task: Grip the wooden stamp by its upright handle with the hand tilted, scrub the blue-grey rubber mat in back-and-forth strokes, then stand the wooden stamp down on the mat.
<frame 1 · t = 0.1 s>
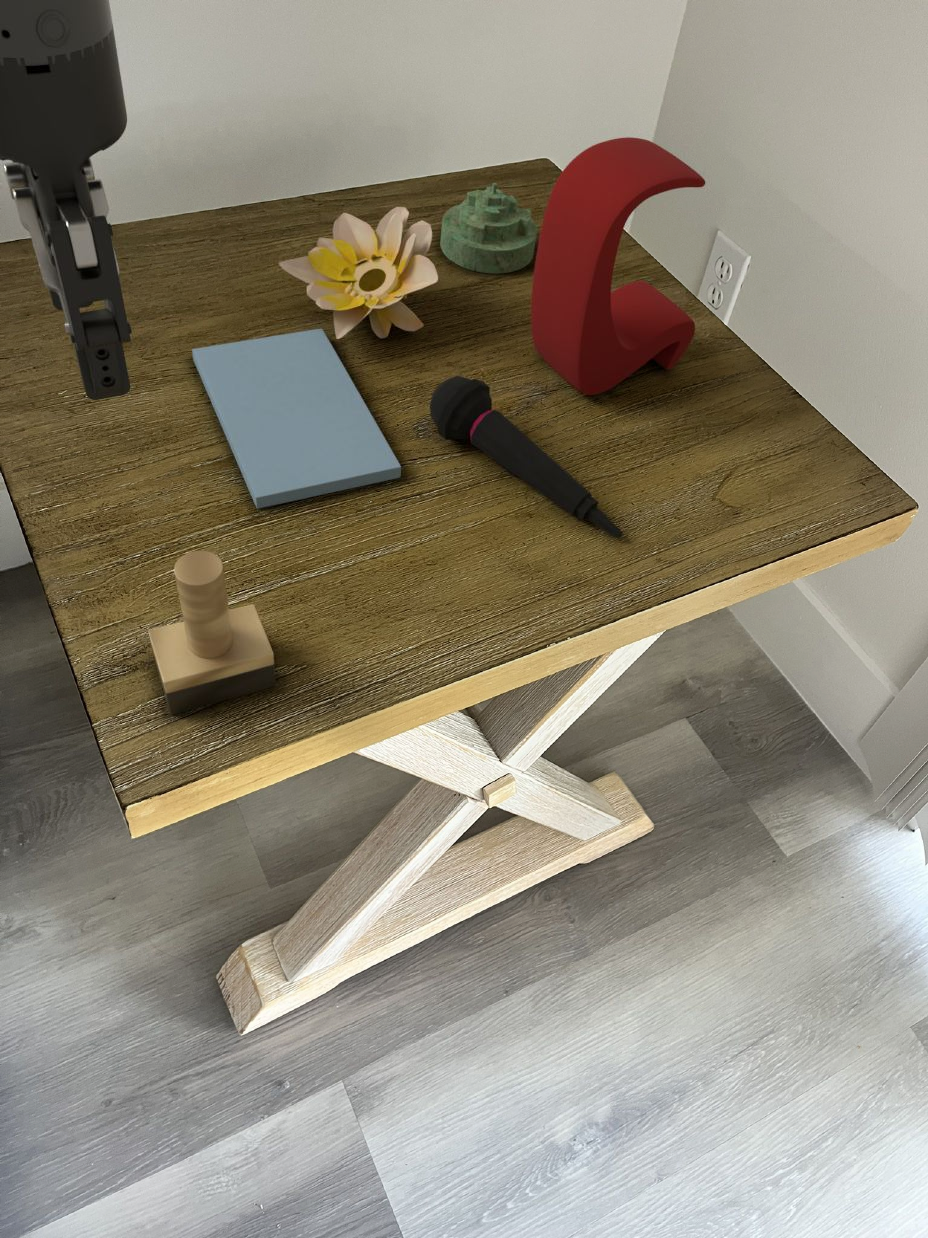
hand: (90, 347, 53), 21 cm above the table, tool pointing down, fingers open, 8 cm apart
decorative artifact: (486, 249, 105), on the table
red curved piece: (601, 366, 93), on the table
wooden stamp: (215, 675, 66), on the table
mat: (292, 416, 84), on the table
microphone: (514, 480, 81), on the table
decorative flower: (358, 309, 95), on the table
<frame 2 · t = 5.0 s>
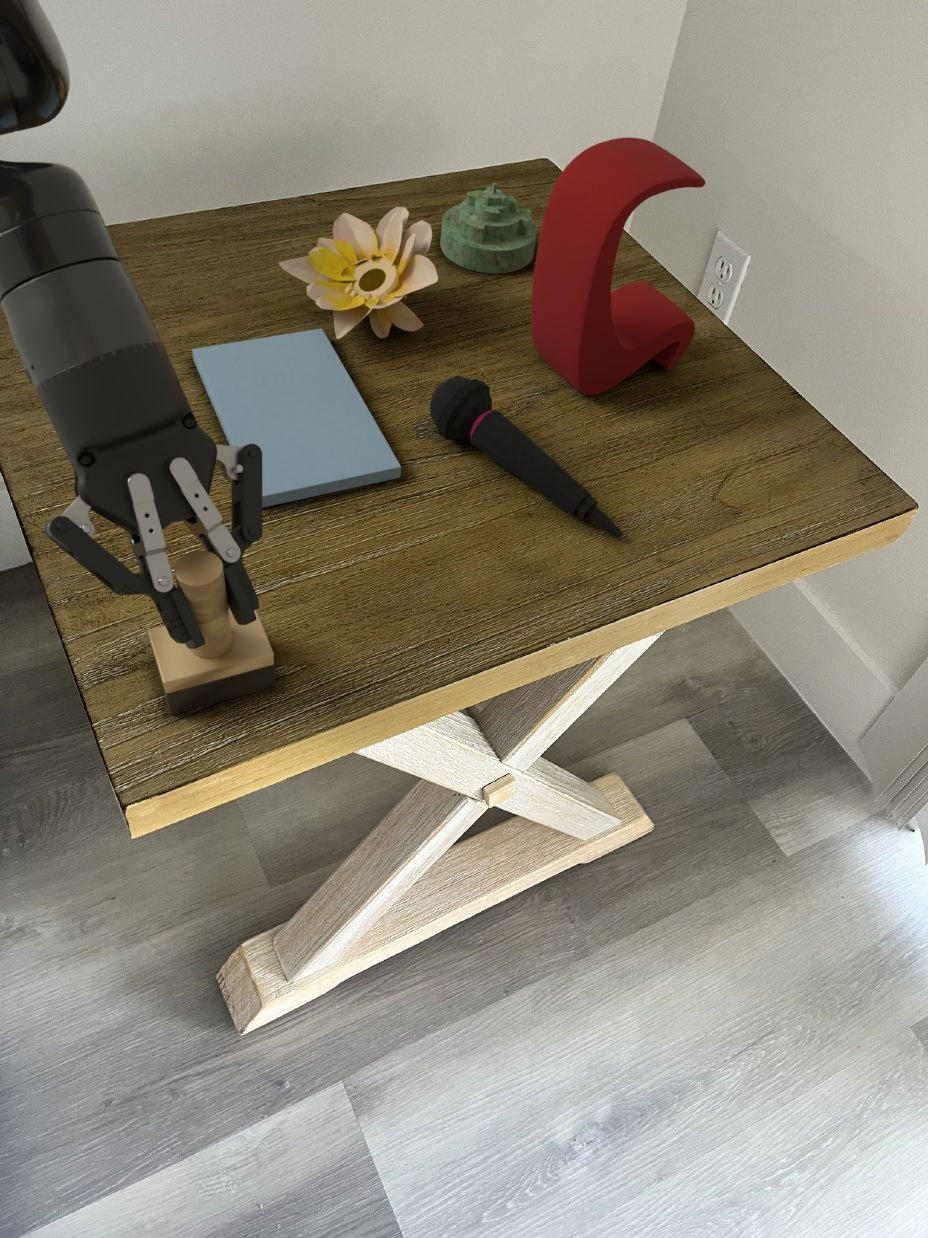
hand: (222, 632, 60), 7 cm above the table, tool tilted 45°, fingers closed on wooden stamp, 3 cm apart
wooden stamp: (215, 675, 66), on the table, touching gripper
everything else where it was.
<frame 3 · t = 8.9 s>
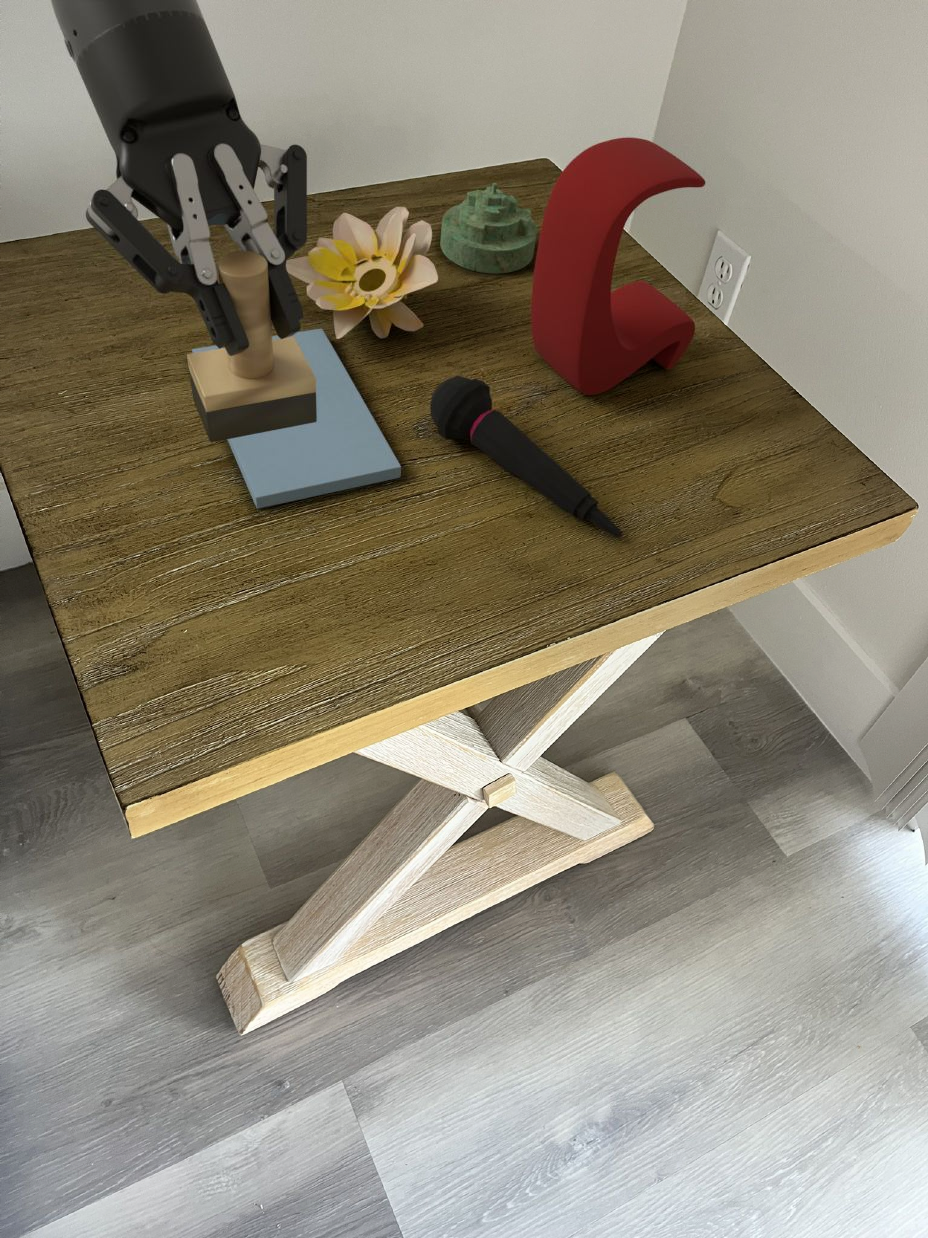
hand: (265, 341, 58), 19 cm above the table, tool tilted 45°, fingers closed on wooden stamp, 3 cm apart
wooden stamp: (255, 411, 64), point 13 cm above the table, touching gripper
everything else where it was.
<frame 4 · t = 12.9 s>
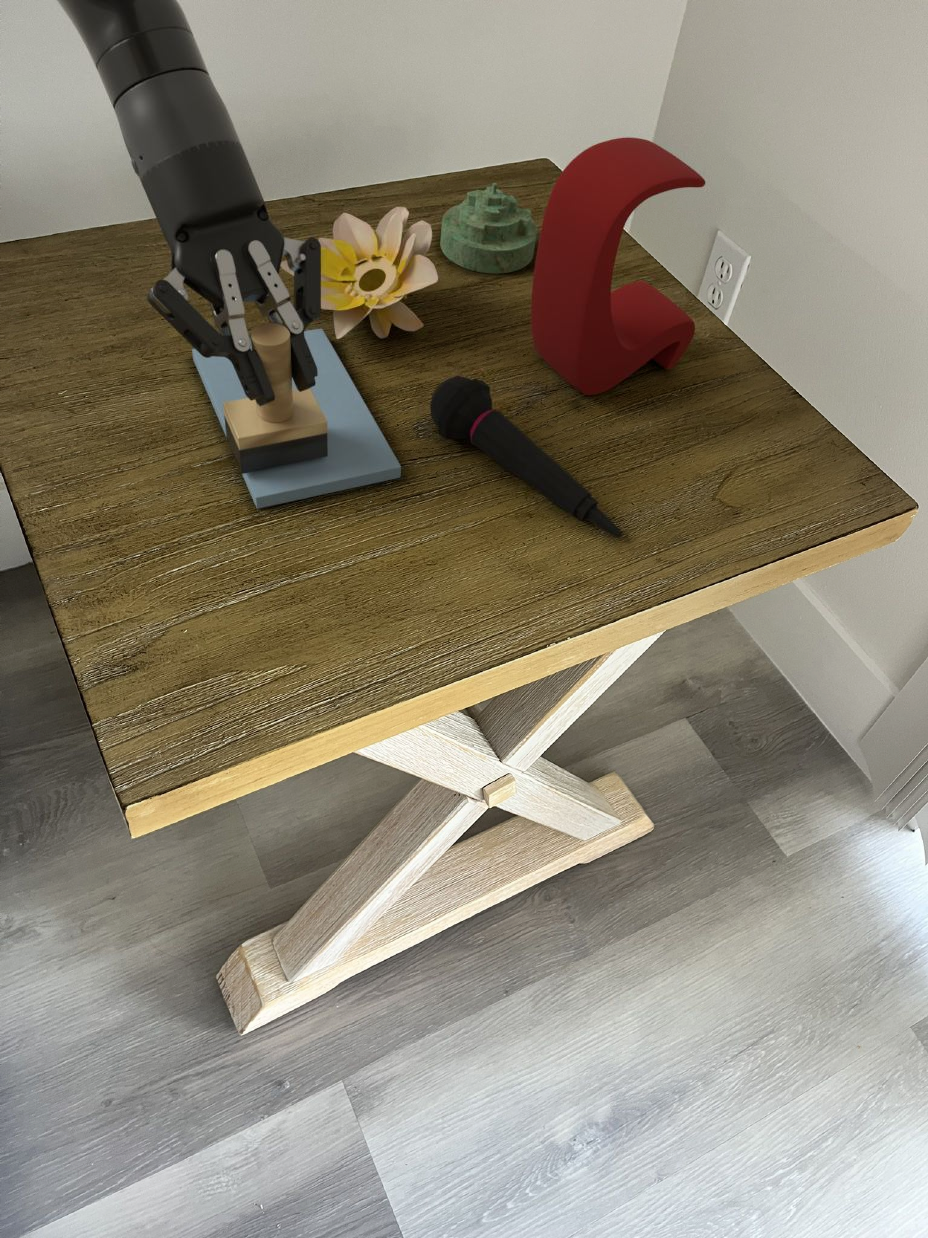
hand: (287, 394, 73), 8 cm above the table, tool tilted 45°, fingers closed on wooden stamp, 3 cm apart
wooden stamp: (277, 447, 78), point 2 cm above the table, touching gripper
everything else where it was.
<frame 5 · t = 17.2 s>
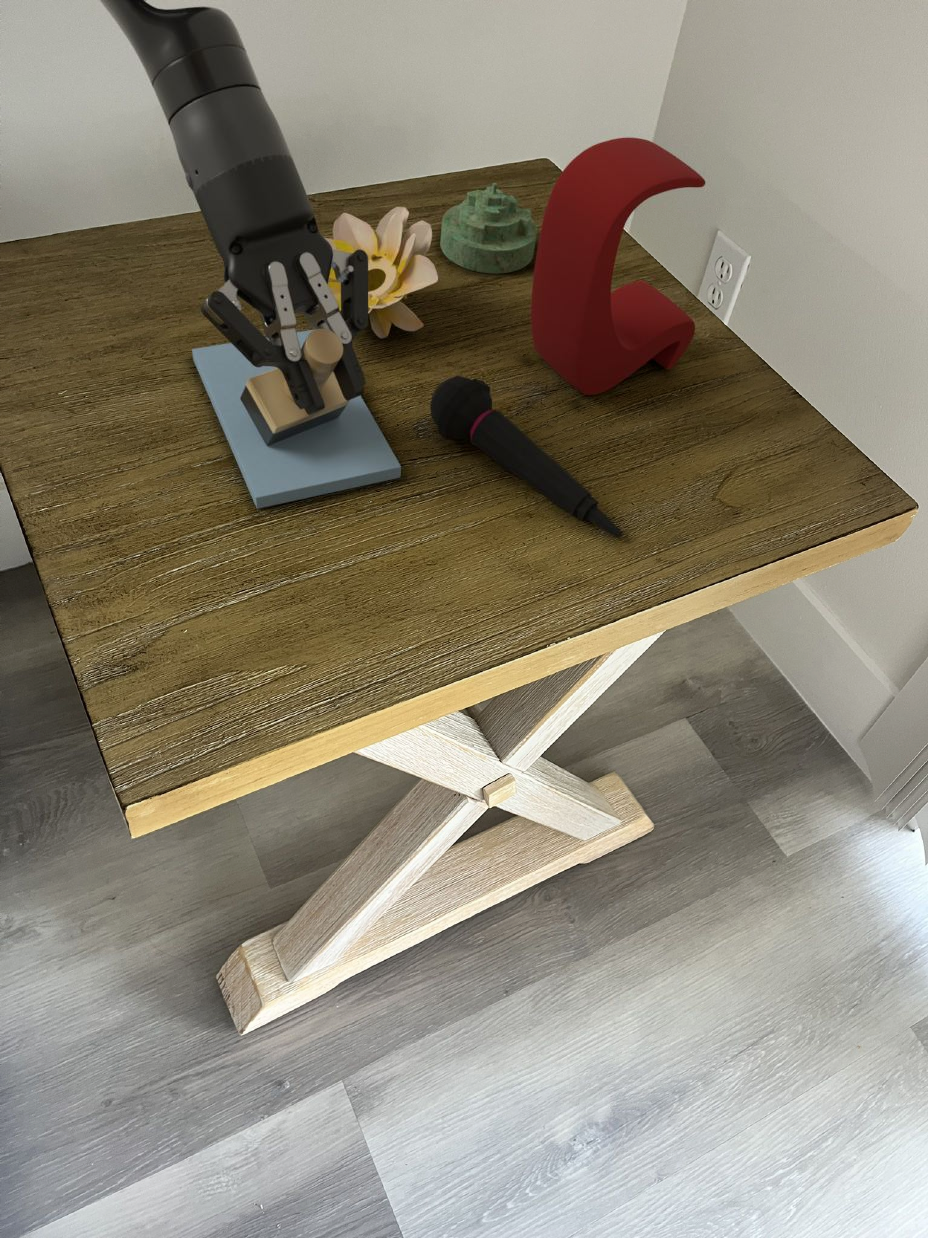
hand: (336, 403, 74), 7 cm above the table, tool tilted 45°, fingers closed on wooden stamp, 3 cm apart
wooden stamp: (290, 408, 81), point 2 cm above the table, tilted 30°, touching gripper
everything else where it was.
when the fingers open (7 cm above the table, at t = 21.0 s): wooden stamp drops 1 cm, resting on mat.
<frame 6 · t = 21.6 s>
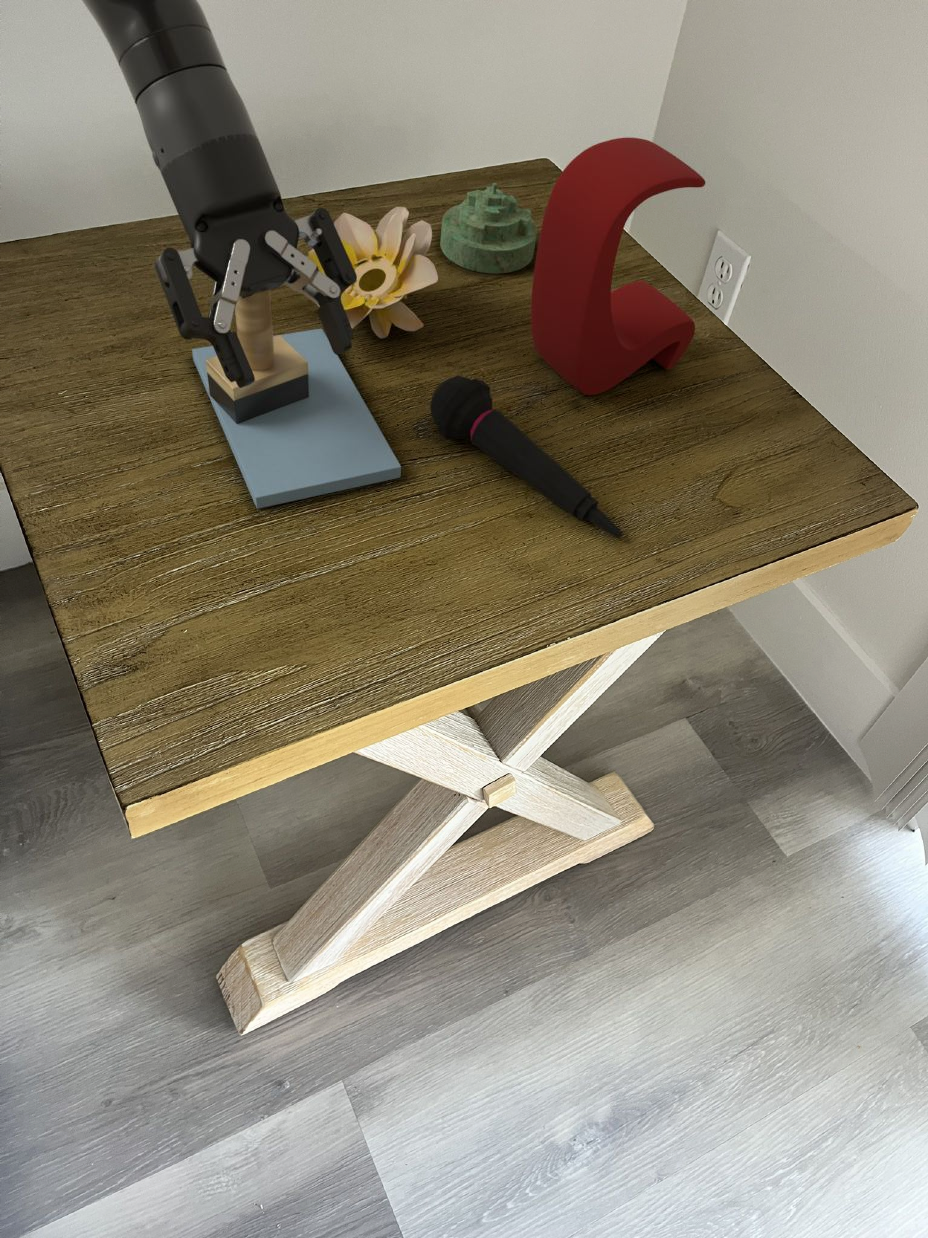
hand: (297, 367, 75), 8 cm above the table, tool tilted 45°, fingers open, 8 cm apart
wooden stamp: (259, 396, 83), point 1 cm above the table, touching mat
everything else where it was.
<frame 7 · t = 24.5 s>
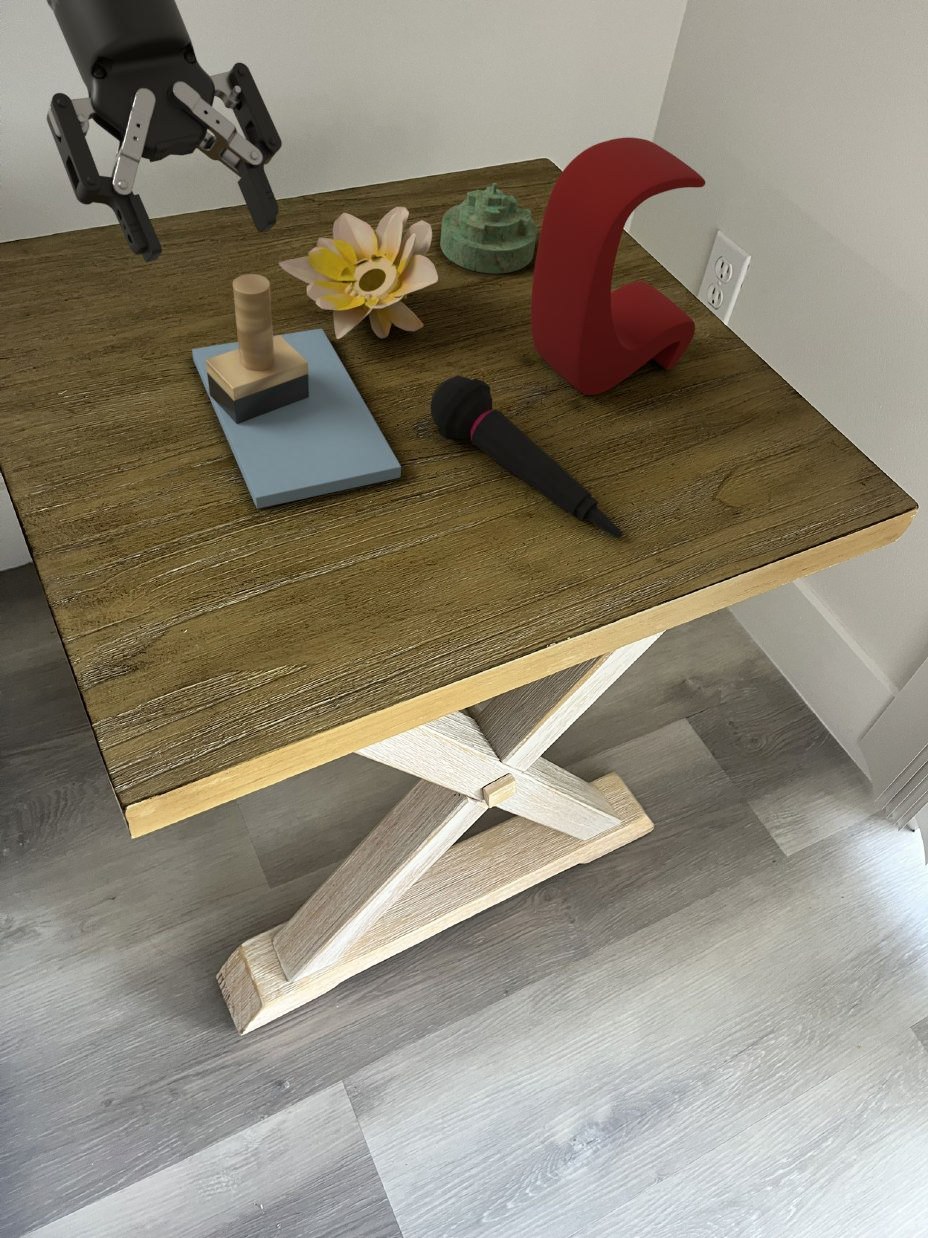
hand: (213, 242, 67), 18 cm above the table, tool tilted 45°, fingers open, 8 cm apart
nothing on the table moved.
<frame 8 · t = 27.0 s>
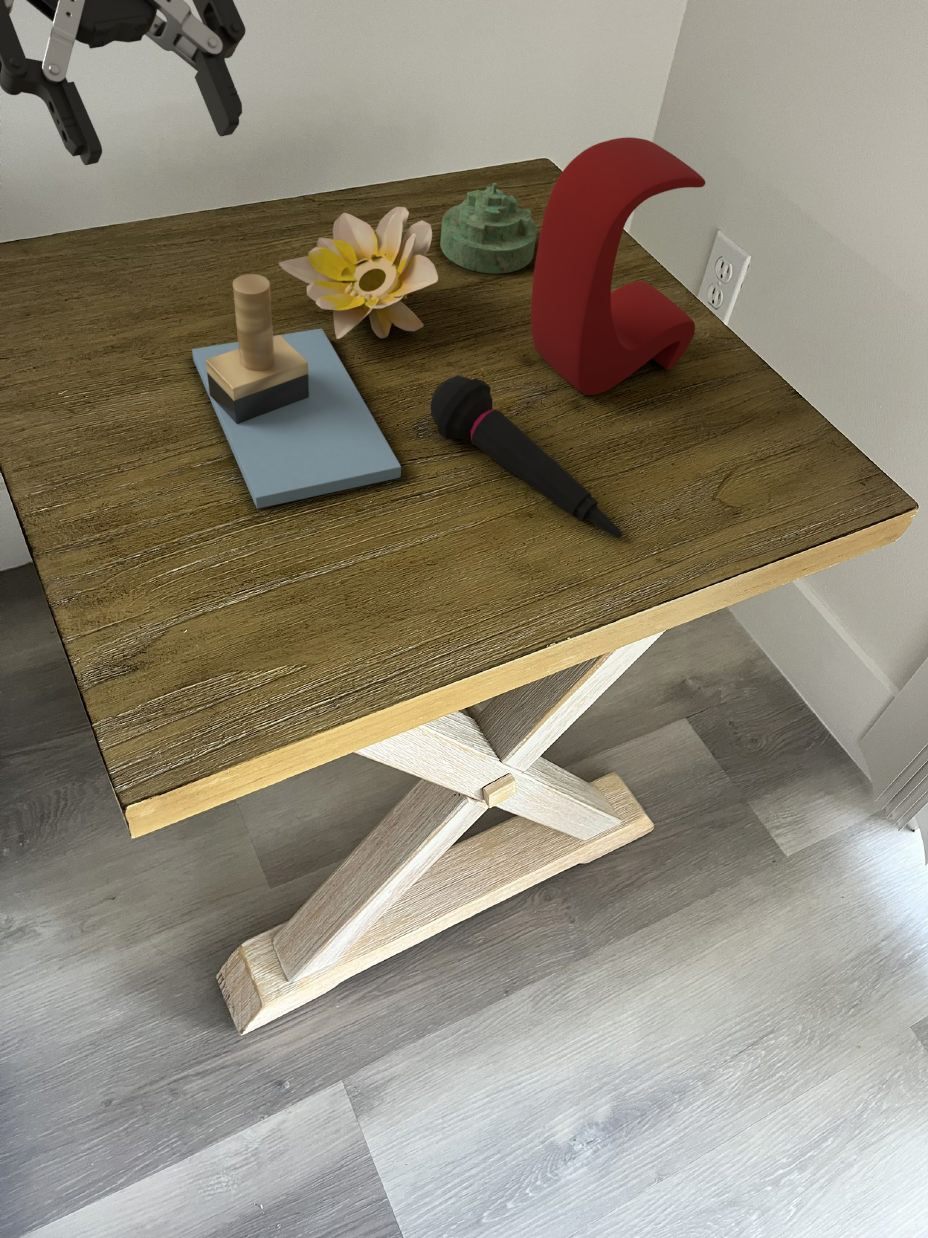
hand: (164, 144, 57), 27 cm above the table, tool tilted 45°, fingers open, 8 cm apart
nothing on the table moved.
at the end: wooden stamp inside the target area on the mat (2.9 cm from its centre), point 1.2 cm above the mat's base; wooden stamp tilted 0°; the gripper is holding nothing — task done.
